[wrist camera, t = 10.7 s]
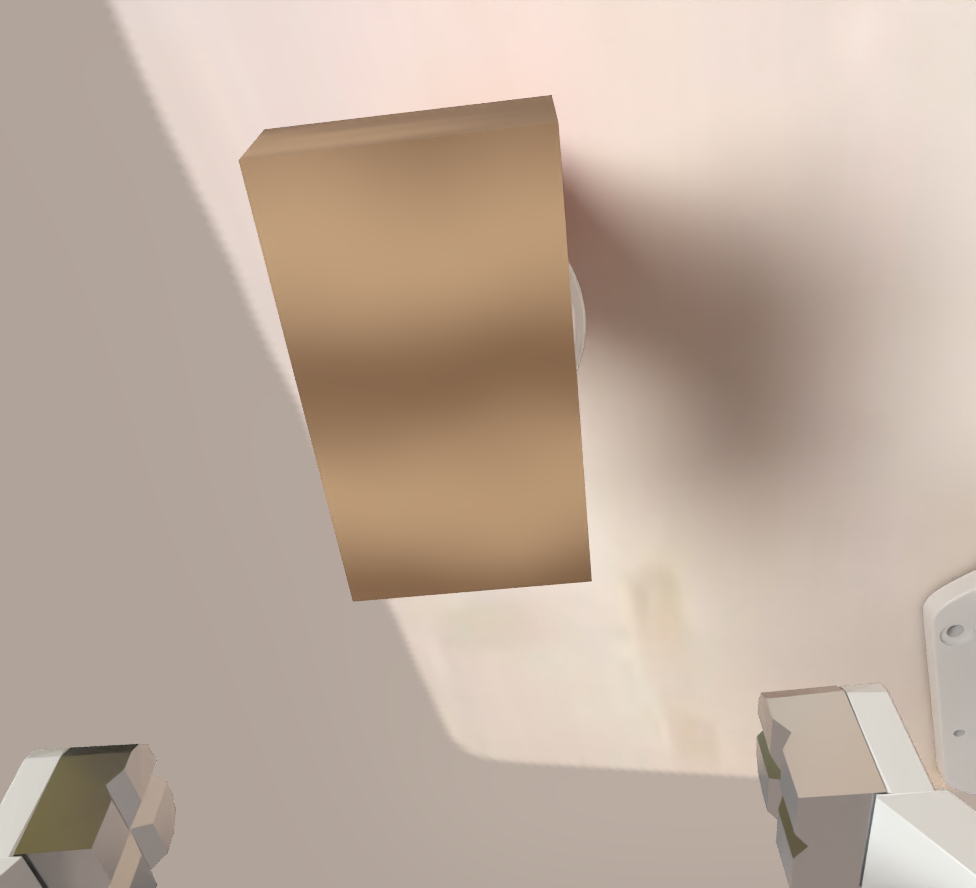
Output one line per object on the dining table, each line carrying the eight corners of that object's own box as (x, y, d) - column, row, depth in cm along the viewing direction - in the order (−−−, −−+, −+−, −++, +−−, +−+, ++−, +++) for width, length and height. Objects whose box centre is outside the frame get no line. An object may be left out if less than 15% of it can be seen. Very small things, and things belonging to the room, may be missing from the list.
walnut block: (583, 524, 27) (591, 581, 25) (363, 543, 27) (352, 601, 25) (551, 94, 20) (558, 122, 18) (264, 129, 21) (238, 160, 19)
